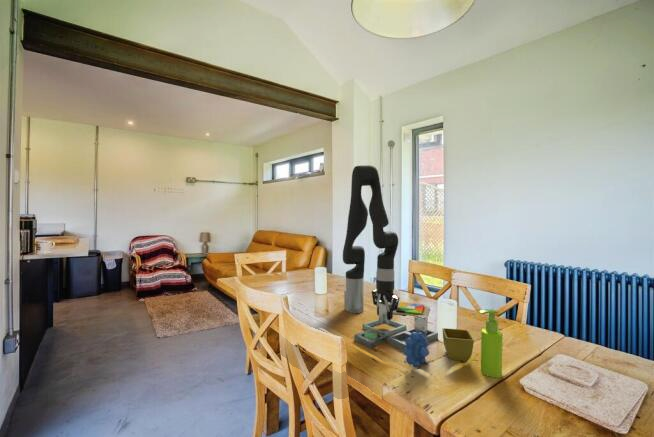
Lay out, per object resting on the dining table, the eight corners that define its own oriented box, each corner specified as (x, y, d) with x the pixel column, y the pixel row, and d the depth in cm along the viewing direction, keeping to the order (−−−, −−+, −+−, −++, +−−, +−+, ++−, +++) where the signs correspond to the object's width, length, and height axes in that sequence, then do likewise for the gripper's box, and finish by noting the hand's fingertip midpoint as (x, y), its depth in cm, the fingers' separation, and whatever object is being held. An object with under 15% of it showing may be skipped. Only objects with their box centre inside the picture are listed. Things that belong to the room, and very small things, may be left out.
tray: (362, 330, 132) (362, 324, 132) (385, 323, 140) (385, 317, 140) (383, 340, 122) (383, 333, 122) (406, 332, 130) (406, 325, 130)
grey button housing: (354, 342, 120) (354, 334, 120) (370, 336, 126) (370, 329, 125) (370, 350, 113) (370, 342, 113) (387, 344, 118) (387, 336, 118)
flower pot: (474, 366, 101) (474, 339, 101) (446, 364, 103) (446, 337, 103) (467, 354, 110) (467, 329, 110) (441, 352, 112) (442, 327, 112)
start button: (361, 341, 120) (361, 334, 120) (370, 338, 123) (370, 331, 123) (370, 346, 116) (370, 338, 116) (380, 342, 119) (380, 335, 119)
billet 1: (376, 321, 132) (376, 302, 132) (384, 318, 135) (384, 300, 135) (385, 324, 128) (385, 305, 128) (393, 322, 131) (393, 303, 131)
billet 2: (411, 337, 122) (411, 316, 122) (419, 334, 125) (419, 313, 125) (422, 341, 118) (422, 319, 118) (430, 338, 121) (430, 317, 121)
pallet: (406, 354, 110) (406, 345, 110) (387, 345, 117) (387, 337, 117) (437, 341, 121) (438, 332, 121) (418, 334, 128) (418, 326, 128)
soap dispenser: (474, 368, 100) (474, 307, 100) (494, 367, 101) (495, 307, 100) (484, 378, 94) (485, 313, 94) (506, 377, 95) (507, 313, 95)
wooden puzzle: (389, 316, 152) (389, 309, 152) (396, 305, 169) (396, 299, 169) (426, 321, 145) (426, 313, 145) (429, 309, 162) (429, 302, 162)
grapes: (415, 378, 94) (415, 339, 94) (398, 369, 100) (398, 332, 99) (438, 367, 101) (439, 331, 100) (421, 359, 106) (421, 325, 106)
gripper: (367, 276, 134) (366, 314, 135) (392, 283, 123) (391, 325, 123) (378, 274, 139) (378, 311, 139) (404, 280, 127) (403, 320, 128)
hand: (384, 317), depth 131 cm, fingers closed on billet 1, 5 cm apart
